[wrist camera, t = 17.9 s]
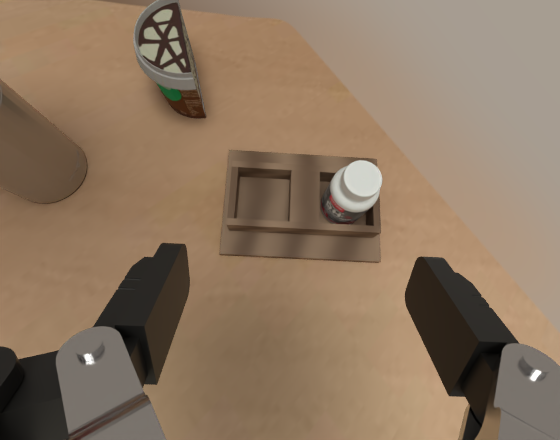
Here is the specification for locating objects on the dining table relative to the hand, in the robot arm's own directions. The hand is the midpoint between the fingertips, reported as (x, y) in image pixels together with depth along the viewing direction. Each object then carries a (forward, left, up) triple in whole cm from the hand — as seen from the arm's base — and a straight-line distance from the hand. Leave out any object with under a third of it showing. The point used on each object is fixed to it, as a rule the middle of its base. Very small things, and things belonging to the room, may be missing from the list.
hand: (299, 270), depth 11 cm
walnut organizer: (+3, +12, -29) cm, 31 cm away
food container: (-15, +28, -29) cm, 43 cm away
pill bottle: (+8, +12, -28) cm, 31 cm away
